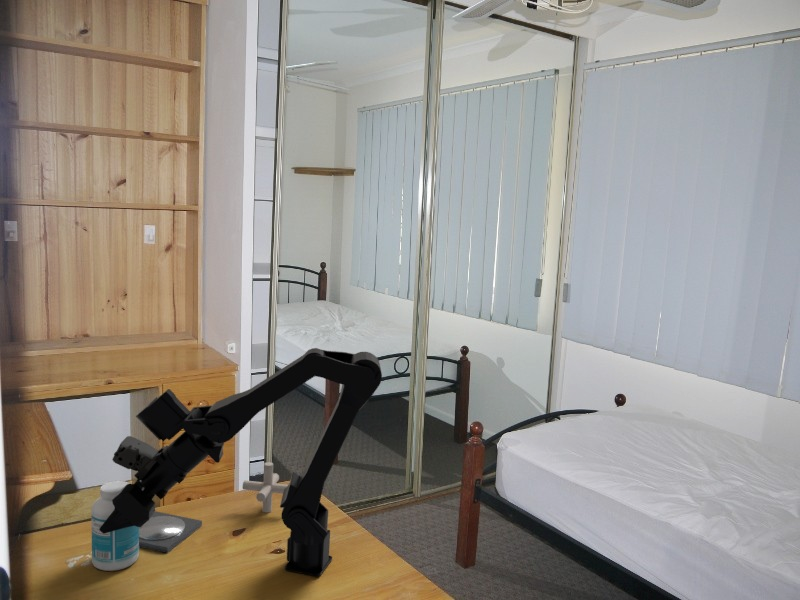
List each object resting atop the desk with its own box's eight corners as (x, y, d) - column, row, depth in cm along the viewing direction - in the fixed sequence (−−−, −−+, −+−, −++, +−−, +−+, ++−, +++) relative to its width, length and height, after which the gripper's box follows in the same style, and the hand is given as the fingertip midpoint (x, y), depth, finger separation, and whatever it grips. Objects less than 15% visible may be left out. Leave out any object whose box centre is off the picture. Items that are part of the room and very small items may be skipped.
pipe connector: (297, 502, 141) (299, 457, 139) (284, 524, 131) (286, 475, 129) (250, 497, 142) (252, 452, 140) (234, 519, 132) (236, 470, 130)
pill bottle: (138, 547, 119) (139, 475, 117) (138, 569, 112) (139, 493, 110) (92, 553, 116) (92, 479, 114) (89, 575, 109) (89, 497, 107)
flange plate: (201, 525, 128) (202, 519, 128) (167, 553, 118) (167, 546, 118) (152, 515, 131) (152, 509, 131) (114, 541, 120) (114, 535, 120)
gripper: (161, 407, 120) (97, 463, 121) (126, 444, 102) (52, 510, 103) (204, 451, 122) (141, 506, 123) (178, 494, 104) (104, 559, 104)
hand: (111, 518), depth 113 cm, fingers open, 9 cm apart
